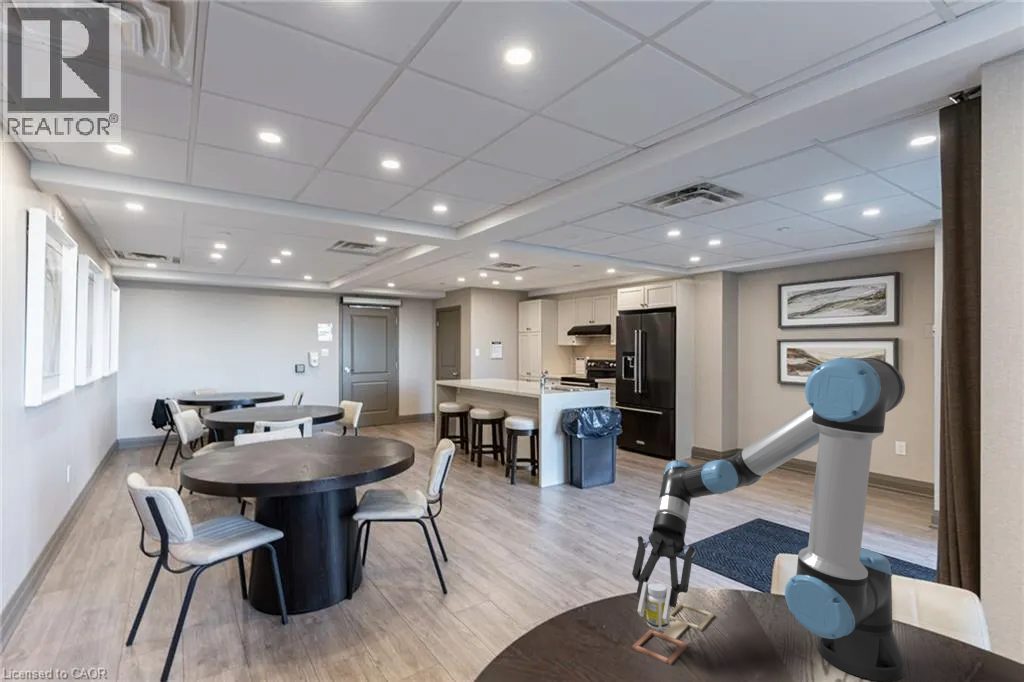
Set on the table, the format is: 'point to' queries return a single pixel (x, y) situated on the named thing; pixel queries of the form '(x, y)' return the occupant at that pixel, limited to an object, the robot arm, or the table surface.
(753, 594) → the table surface
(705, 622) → the linked wooden frames
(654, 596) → the supplement bottle
